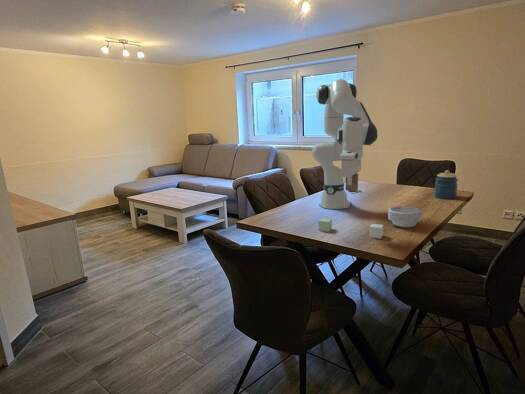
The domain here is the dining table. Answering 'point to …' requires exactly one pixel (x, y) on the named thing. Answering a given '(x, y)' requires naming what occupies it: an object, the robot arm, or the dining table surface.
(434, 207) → the dining table surface
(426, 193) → the dining table surface
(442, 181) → the canister
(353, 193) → the eiffel tower figurine
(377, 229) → the grey cube
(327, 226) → the sage cube
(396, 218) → the paper bowls
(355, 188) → the walnut block
